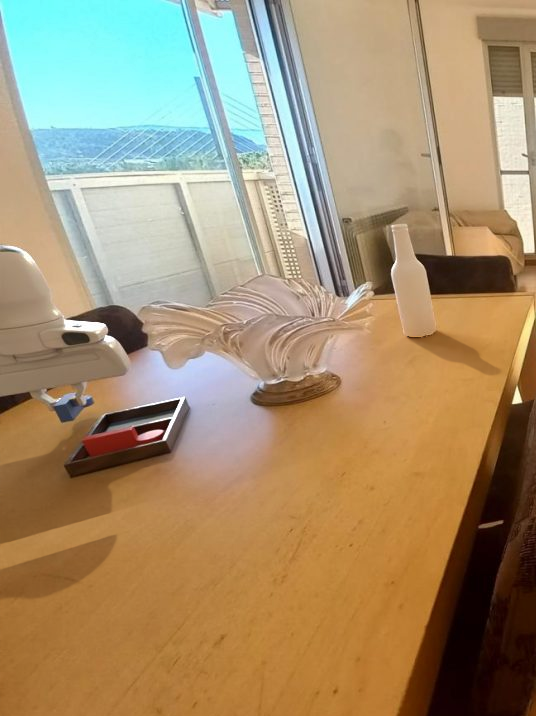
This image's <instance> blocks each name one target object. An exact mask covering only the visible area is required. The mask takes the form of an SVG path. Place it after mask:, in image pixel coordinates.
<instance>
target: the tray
mask: <svg viewBox="0 0 536 716" xmlns="http://www.w3.org/2000/svg"><path fill="white" fill-rule="evenodd" d="M189 411H190V405H189V402H188V400H187V398H186V396H183V397H178V398H173V399H168V400H164V401H158V402H155V403H148V404H145V405H140V406H135V407H131V408H127V409H121V410H116V411H112V412H106V413H102V414H101V415H100V416H99V418H98V419H96V421H95V422H94V424H93V425H92V426H91V428H90V429H89V430H88V432H87V433H86V435H85V436H84V437H86V436H91V435H95V434H100V433H104V432H109V431H113V430H117V429H122V428H126V427H131V426H134V428H135V430H136V432H137V434H138V436H139V435H141V434H143V433H146V432H149V431H153V430H163V431H164V433H165V435H164V437H163V439H162V440H160V441H156V442H152V443H148V444H144V445H140V446H135V447H131V448H127V449H123V450H119V451H115V452H110V453H106V454H102V455H98V456H94V457H90V455H89V453H88V451H87V449H86V448H85V446H84V444H83V442H82V440H81V441H80V442H79V444H78V445H77V447H76V448H75V449H74V450H73V452H72V453H71V454H70V456H69V457H68V458H67V460H66V461H65V462H64V463H63V465H62V466H63V467H64V470H65V471H66V472H67V474H68V476H69V478H71V479H72V478H75V477H76V478H77V477H79V476H83V475H88V474H92V473H95V472H99V471H102V470H107V469H111V468H115V467H120V466H123V465H126V464H130V463H134V462H139V461H143V460H147V459H151V458H154V457H158V456H163V455H167V454H170V453H171V454H172V452H173V450H174V447H175V444H176V442H177V439H178V437H179V434H180V433H181V429H182V427H183V424H184V423H185V420H186V417H187V415H188V412H189Z"/></svg>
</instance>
